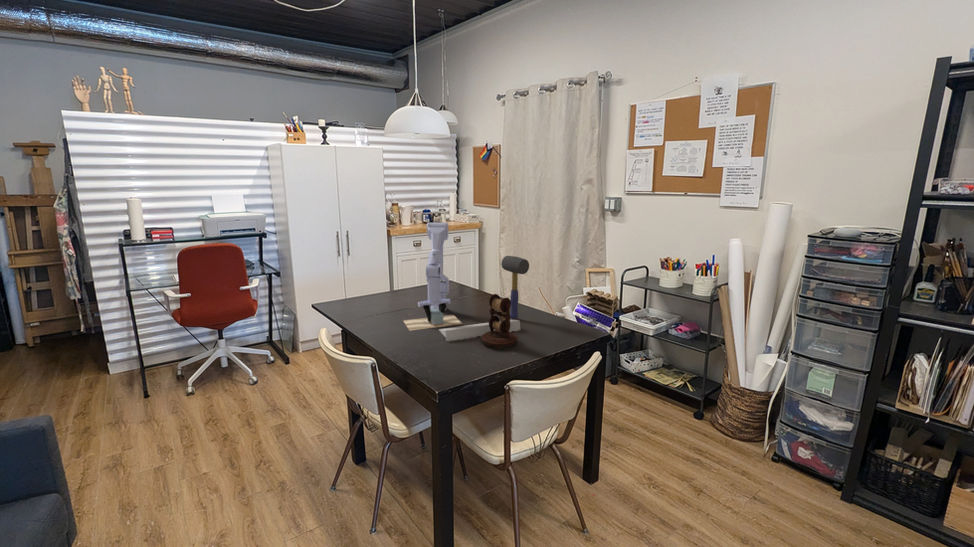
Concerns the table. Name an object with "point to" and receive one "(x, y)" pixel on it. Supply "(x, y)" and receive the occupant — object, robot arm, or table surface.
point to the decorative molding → (473, 330)
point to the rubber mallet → (515, 279)
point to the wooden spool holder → (499, 324)
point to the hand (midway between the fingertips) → (434, 320)
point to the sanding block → (436, 317)
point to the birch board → (424, 324)
